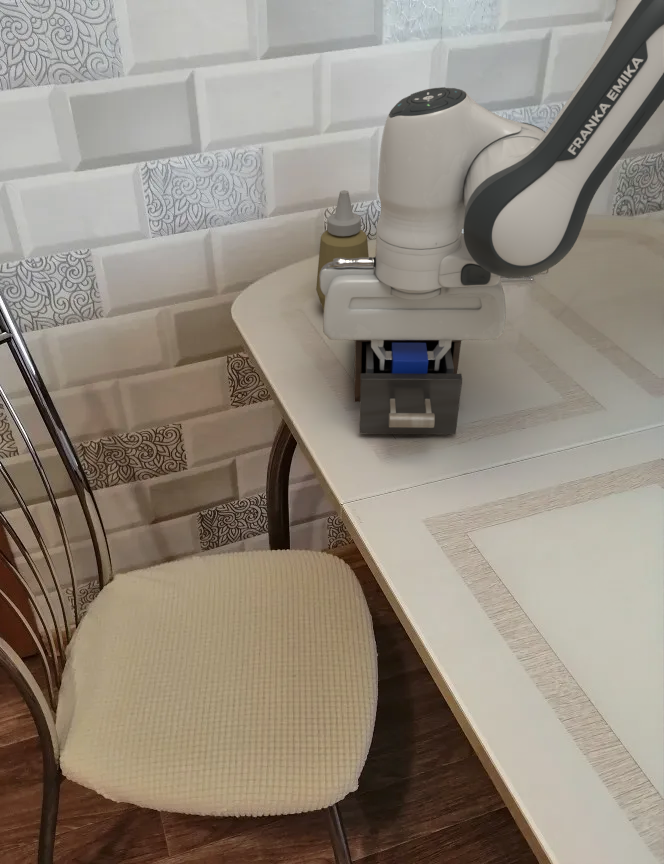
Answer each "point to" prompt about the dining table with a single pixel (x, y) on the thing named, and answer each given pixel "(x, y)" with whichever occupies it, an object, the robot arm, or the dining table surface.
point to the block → (409, 358)
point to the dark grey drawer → (409, 397)
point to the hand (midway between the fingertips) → (408, 368)
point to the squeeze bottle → (341, 238)
